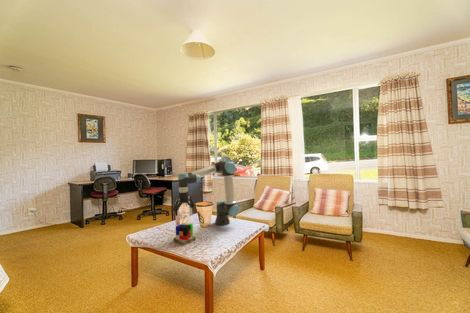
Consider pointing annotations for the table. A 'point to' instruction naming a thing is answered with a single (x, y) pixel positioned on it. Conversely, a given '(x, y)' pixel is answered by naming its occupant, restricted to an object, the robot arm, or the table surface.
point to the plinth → (183, 242)
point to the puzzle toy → (184, 231)
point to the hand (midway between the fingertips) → (184, 217)
